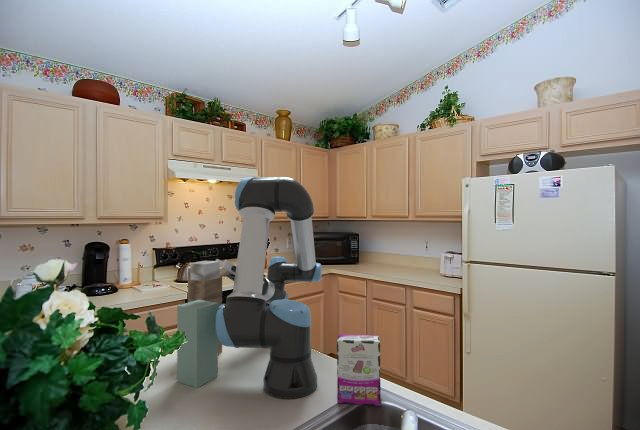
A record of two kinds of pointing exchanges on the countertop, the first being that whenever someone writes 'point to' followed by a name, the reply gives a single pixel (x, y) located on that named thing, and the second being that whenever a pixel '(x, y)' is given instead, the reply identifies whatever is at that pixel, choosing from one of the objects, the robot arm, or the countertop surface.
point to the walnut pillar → (206, 293)
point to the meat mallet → (207, 270)
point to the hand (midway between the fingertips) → (220, 263)
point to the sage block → (197, 343)
